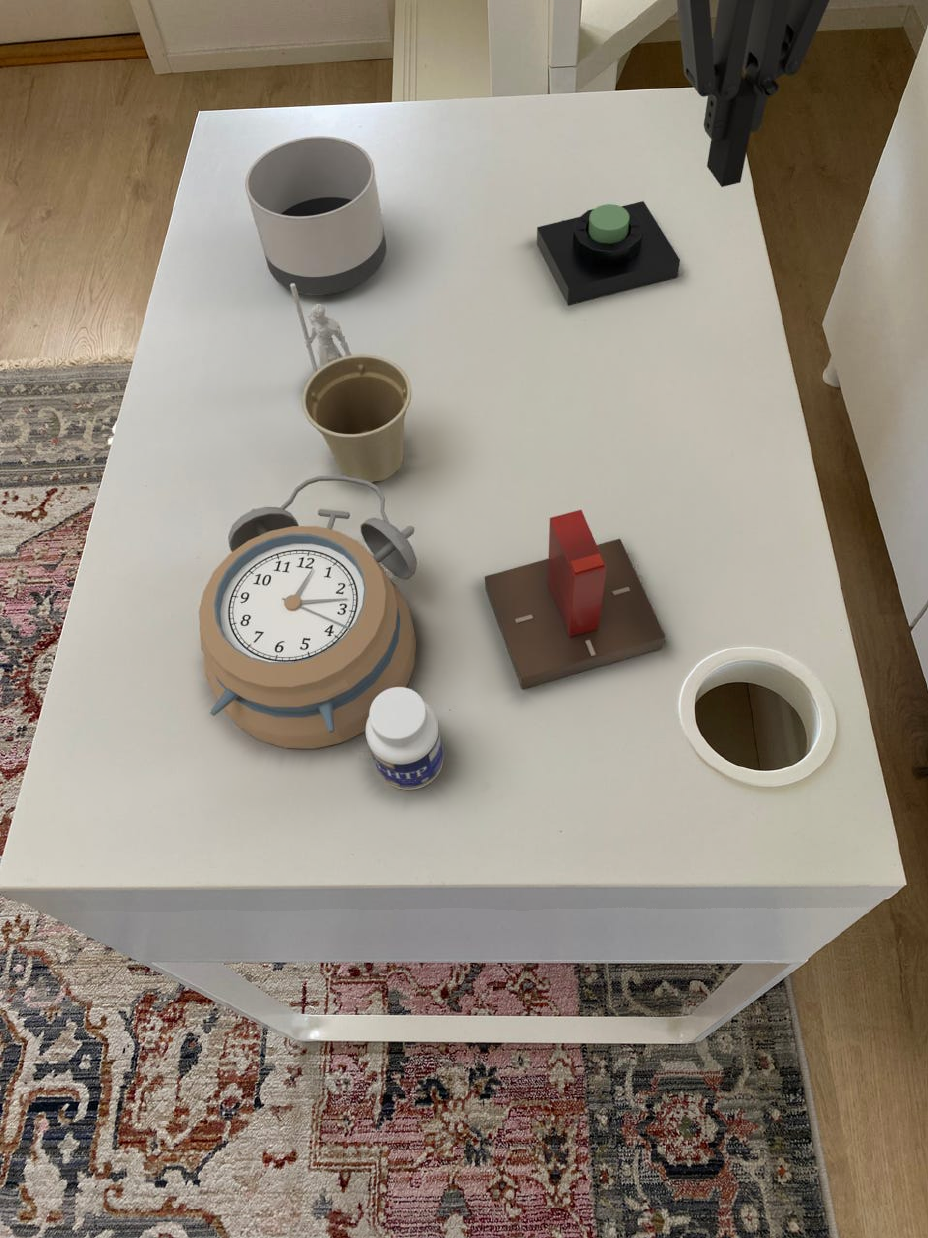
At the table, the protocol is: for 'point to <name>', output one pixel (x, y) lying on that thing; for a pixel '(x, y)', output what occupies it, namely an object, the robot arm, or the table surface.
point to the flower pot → (360, 413)
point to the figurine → (321, 333)
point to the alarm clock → (307, 624)
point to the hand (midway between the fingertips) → (723, 173)
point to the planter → (317, 214)
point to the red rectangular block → (575, 572)
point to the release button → (608, 224)
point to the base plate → (541, 630)
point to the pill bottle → (404, 739)
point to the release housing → (606, 256)
